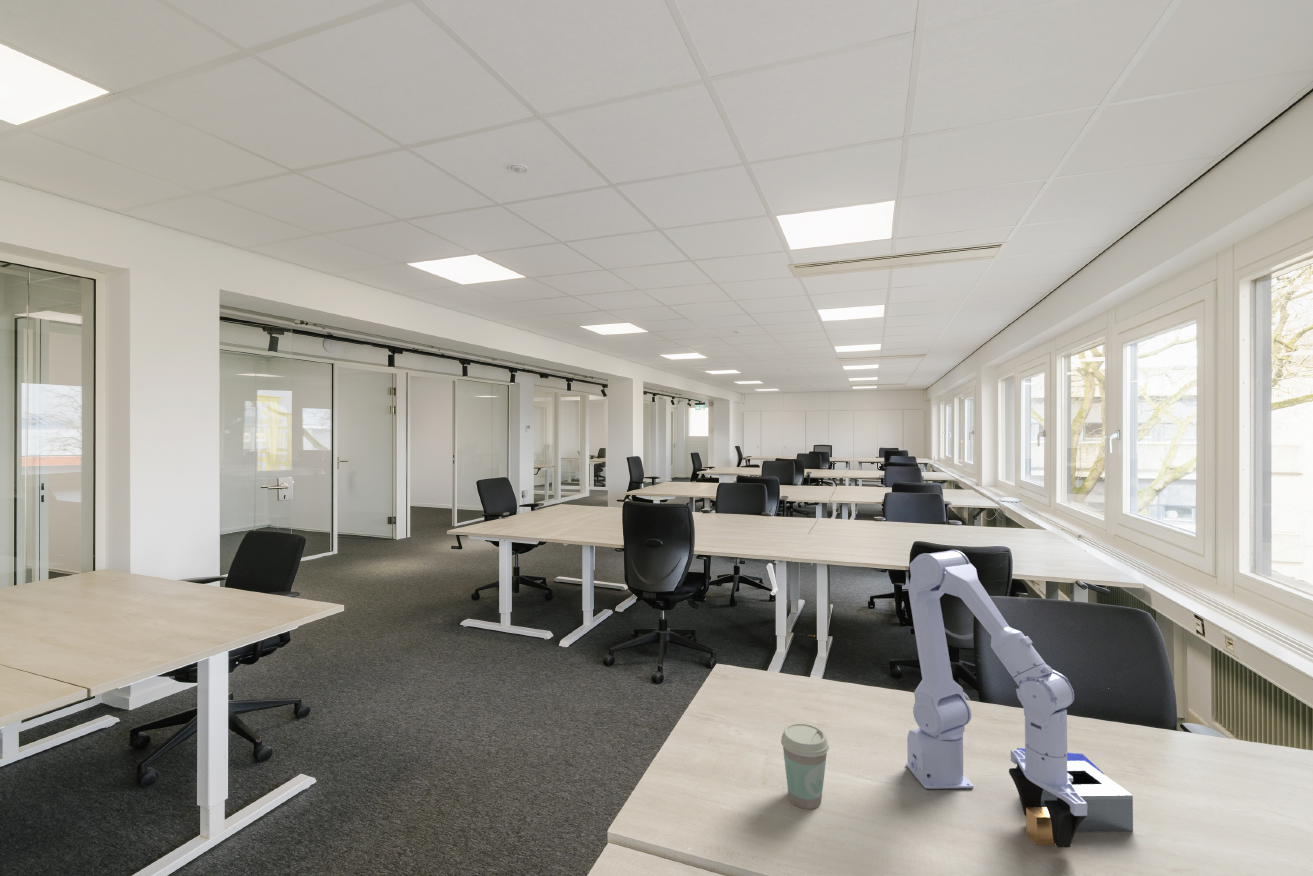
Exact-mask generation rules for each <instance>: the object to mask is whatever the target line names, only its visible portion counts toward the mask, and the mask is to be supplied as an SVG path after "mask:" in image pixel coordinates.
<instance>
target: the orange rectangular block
mask: <svg viewBox="0 0 1313 876" xmlns="http://www.w3.org/2000/svg"><path fill="white" fill-rule="evenodd" d="M1025 817H1026V824H1025V825H1026V836H1028V838H1029V839H1030V840H1031V841H1032V842H1034V844H1036V845H1037V846H1042V845H1043V846H1044V845H1045V846H1047V845H1048V846H1049V845H1051V846H1052V845H1053V846H1054V845H1055V844H1054V840H1053V834H1052V824H1051V819H1050V815H1049V812H1048V810H1047V808H1046V807H1026V816H1025ZM1055 846H1056V845H1055Z"/></svg>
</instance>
